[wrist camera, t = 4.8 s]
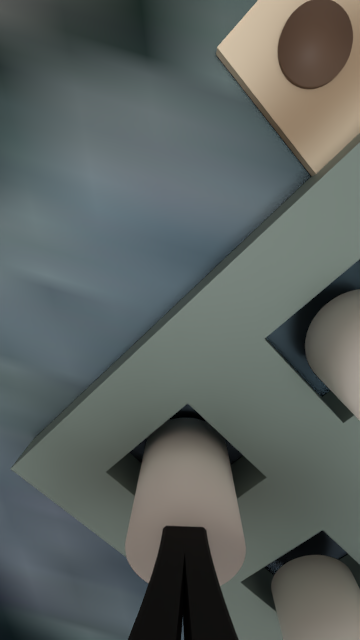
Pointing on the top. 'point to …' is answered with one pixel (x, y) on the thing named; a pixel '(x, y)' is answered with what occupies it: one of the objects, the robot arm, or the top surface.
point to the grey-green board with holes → (231, 400)
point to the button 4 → (337, 348)
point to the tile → (301, 72)
